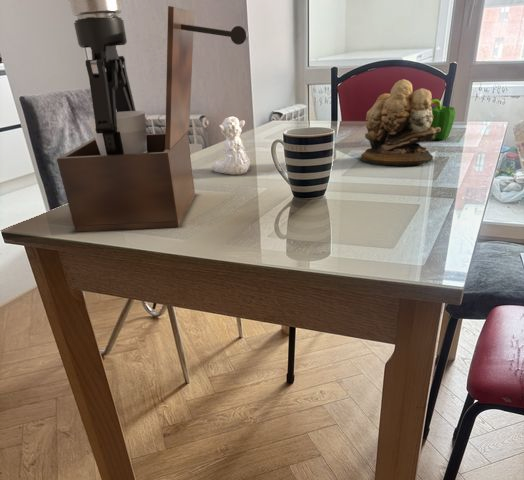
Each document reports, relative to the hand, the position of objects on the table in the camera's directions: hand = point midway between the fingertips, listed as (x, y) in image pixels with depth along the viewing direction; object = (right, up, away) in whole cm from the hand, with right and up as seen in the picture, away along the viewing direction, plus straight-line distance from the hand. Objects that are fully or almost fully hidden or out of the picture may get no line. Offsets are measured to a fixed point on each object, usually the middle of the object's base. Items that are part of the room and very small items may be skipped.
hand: (126, 166), depth 91 cm
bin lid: (+10, +12, -8) cm, 18 cm away
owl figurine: (+56, +12, +29) cm, 64 cm away
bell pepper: (+72, +25, +48) cm, 90 cm away
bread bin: (+1, -7, +4) cm, 8 cm away
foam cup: (0, -4, +2) cm, 5 cm away
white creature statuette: (+18, +9, +28) cm, 35 cm away
